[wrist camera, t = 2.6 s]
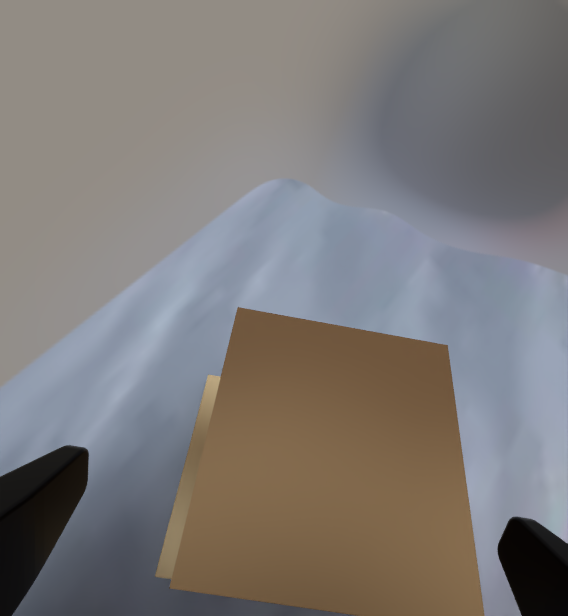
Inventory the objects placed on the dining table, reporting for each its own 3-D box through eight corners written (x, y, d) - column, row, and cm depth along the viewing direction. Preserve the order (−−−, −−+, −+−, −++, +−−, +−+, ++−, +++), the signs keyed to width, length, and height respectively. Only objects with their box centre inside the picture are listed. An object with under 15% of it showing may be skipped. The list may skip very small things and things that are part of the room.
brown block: (311, 538, 14) (486, 633, 4) (216, 523, 13) (169, 587, 4) (319, 437, 16) (447, 345, 6) (236, 423, 15) (237, 306, 6)
